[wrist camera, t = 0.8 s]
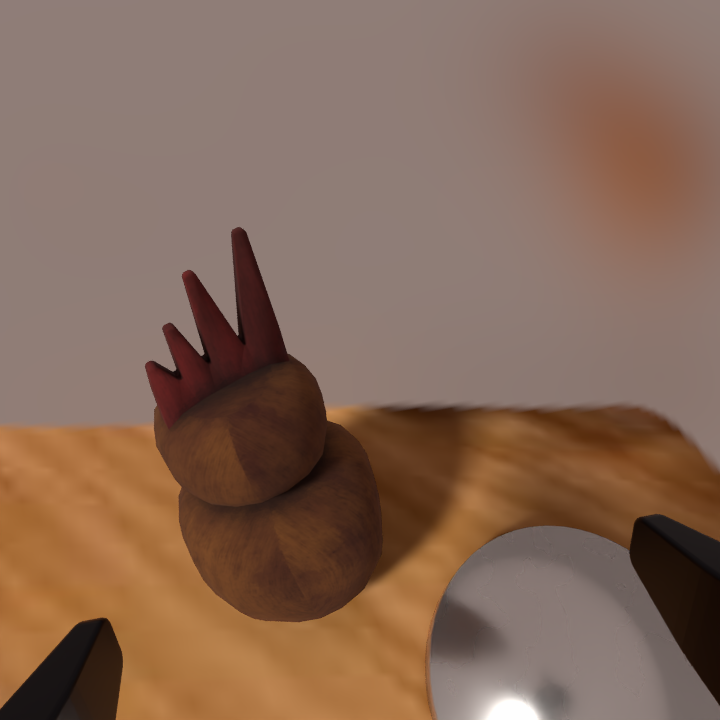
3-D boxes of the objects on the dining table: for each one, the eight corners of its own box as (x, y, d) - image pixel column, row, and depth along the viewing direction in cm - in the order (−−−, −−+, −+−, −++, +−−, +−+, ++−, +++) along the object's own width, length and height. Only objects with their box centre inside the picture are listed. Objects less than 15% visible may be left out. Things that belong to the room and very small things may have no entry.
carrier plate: (768, 866, 17) (800, 878, 16) (441, 878, 17) (448, 891, 16) (655, 533, 24) (672, 523, 22) (413, 537, 23) (417, 527, 22)
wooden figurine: (373, 489, 24) (290, 179, 14) (412, 610, 20) (332, 284, 10) (231, 534, 24) (45, 245, 14) (240, 669, 19) (-22, 385, 10)
